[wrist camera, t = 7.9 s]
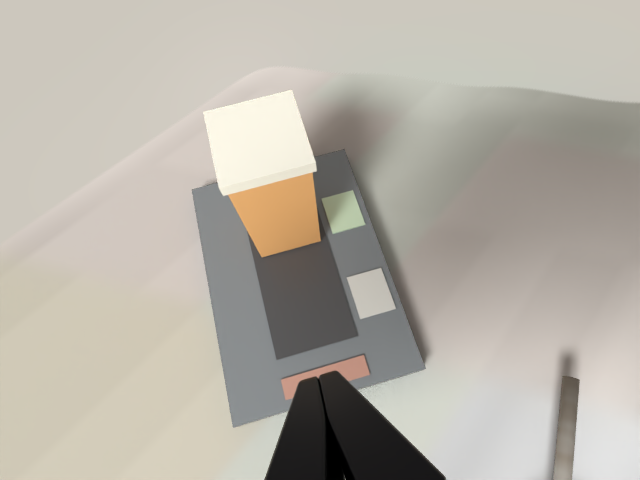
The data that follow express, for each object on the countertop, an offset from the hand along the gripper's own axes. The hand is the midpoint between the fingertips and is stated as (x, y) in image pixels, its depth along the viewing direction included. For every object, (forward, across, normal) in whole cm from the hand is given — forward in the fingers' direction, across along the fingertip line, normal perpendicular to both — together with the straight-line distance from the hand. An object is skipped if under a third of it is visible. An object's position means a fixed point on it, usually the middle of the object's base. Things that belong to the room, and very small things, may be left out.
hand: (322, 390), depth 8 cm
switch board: (+14, 0, +4) cm, 15 cm away
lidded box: (+15, 0, +1) cm, 15 cm away
